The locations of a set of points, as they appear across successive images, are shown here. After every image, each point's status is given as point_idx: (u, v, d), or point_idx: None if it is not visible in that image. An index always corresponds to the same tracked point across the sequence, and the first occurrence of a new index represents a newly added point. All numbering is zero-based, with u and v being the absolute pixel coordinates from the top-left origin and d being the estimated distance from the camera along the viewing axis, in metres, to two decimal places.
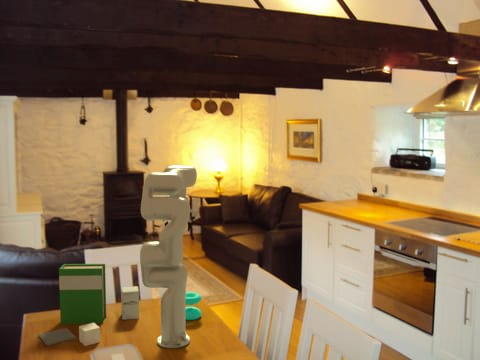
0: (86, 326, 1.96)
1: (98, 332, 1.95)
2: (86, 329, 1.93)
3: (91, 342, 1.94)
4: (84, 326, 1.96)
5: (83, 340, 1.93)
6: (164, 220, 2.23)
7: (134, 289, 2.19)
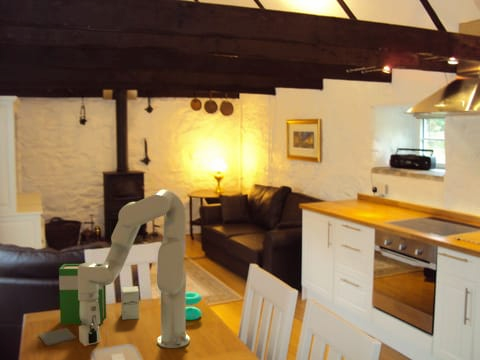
0: (86, 326, 1.96)
1: (98, 332, 1.95)
2: (86, 329, 1.93)
3: None
4: (84, 326, 1.96)
5: (83, 340, 1.93)
6: None
7: (134, 289, 2.19)
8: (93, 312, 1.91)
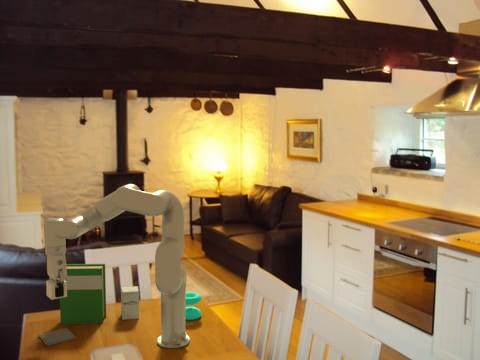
0: (53, 280, 1.97)
1: (65, 286, 1.96)
2: (53, 283, 1.94)
3: None
4: (51, 280, 1.97)
5: (50, 294, 1.94)
6: (63, 284, 1.94)
7: (134, 289, 2.19)
8: (59, 266, 1.92)
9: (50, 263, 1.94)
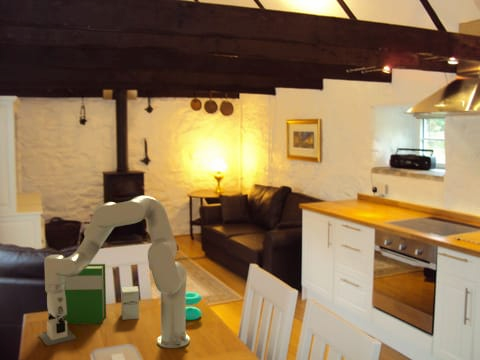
0: (54, 320, 1.99)
1: (65, 326, 1.98)
2: (53, 323, 1.96)
3: (58, 336, 1.97)
4: (52, 320, 1.99)
5: (50, 334, 1.96)
6: (64, 320, 1.95)
7: (134, 289, 2.19)
8: (59, 303, 1.94)
9: (50, 300, 1.95)
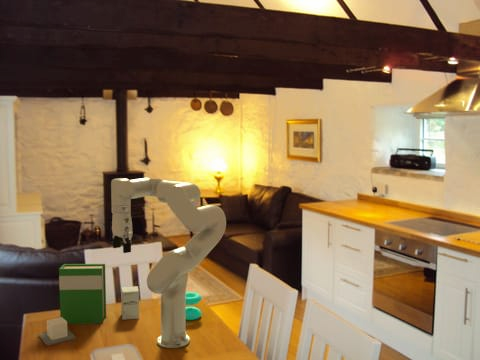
0: (54, 320, 1.99)
1: (65, 326, 1.98)
2: (53, 323, 1.96)
3: (58, 336, 1.97)
4: (52, 320, 1.99)
5: (50, 334, 1.96)
6: None
7: (134, 289, 2.19)
8: (126, 224, 2.00)
9: (116, 221, 2.02)
